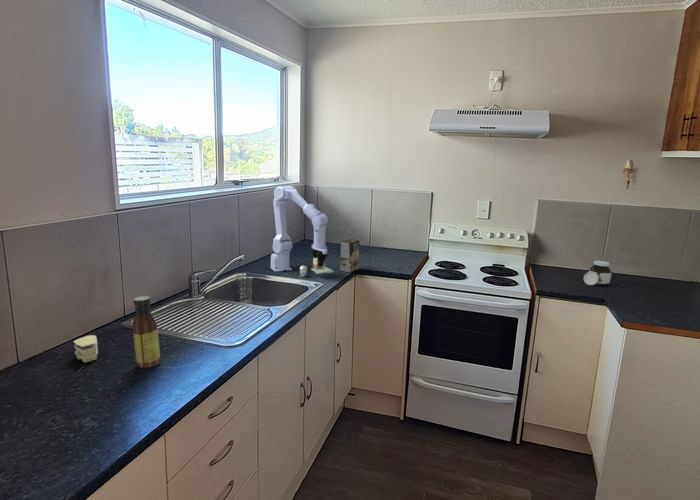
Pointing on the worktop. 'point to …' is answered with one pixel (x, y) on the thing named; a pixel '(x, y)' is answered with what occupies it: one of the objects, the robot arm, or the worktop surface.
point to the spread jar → (598, 274)
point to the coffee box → (349, 255)
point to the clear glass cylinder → (303, 271)
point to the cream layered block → (86, 348)
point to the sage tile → (322, 270)
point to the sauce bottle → (145, 334)
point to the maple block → (315, 264)
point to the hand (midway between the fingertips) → (318, 265)
